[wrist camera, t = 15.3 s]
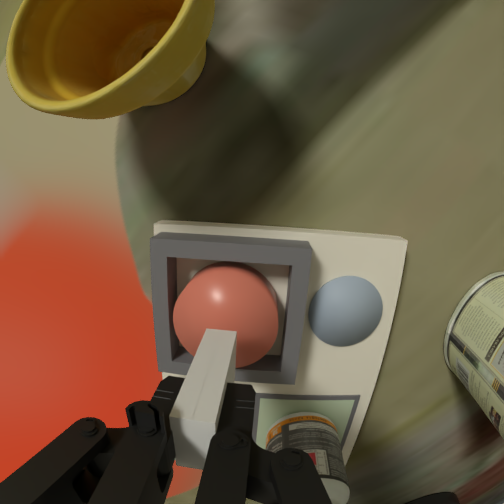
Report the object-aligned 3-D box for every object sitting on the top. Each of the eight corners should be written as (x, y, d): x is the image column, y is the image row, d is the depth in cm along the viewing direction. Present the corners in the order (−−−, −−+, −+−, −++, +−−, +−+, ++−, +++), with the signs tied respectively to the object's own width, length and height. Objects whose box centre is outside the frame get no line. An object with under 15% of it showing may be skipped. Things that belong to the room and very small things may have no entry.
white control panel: (341, 458, 26) (346, 484, 22) (178, 448, 26) (169, 474, 23) (399, 236, 20) (420, 248, 17) (161, 219, 21) (141, 229, 17)
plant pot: (70, 100, 19) (-23, 78, 10) (143, -12, 16) (85, -80, 7) (179, 159, 20) (106, 153, 10) (262, 31, 17) (255, -57, 8)
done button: (273, 350, 21) (273, 371, 18) (185, 342, 21) (175, 362, 19) (281, 264, 19) (282, 278, 17) (183, 257, 19) (171, 269, 17)
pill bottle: (262, 411, 22) (256, 520, 13) (337, 403, 22) (361, 509, 12) (269, 456, 24) (266, 551, 14) (335, 449, 23) (351, 542, 13)
